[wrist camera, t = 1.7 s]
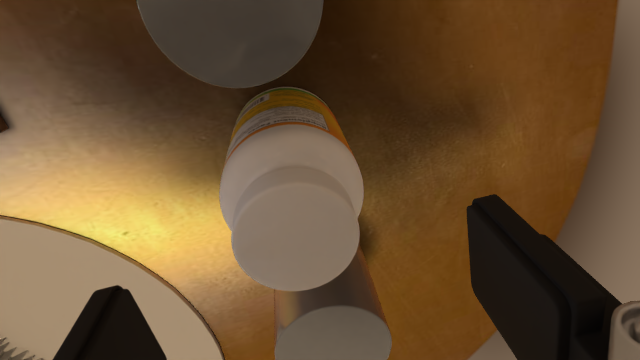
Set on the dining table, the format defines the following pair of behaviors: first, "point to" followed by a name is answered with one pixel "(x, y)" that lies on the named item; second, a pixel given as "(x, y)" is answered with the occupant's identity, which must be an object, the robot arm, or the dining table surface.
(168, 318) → the plate
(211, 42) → the grey jar
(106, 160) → the dining table surface
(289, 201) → the supplement bottle
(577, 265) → the robot arm
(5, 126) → the divided wooden tray
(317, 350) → the grey jar
